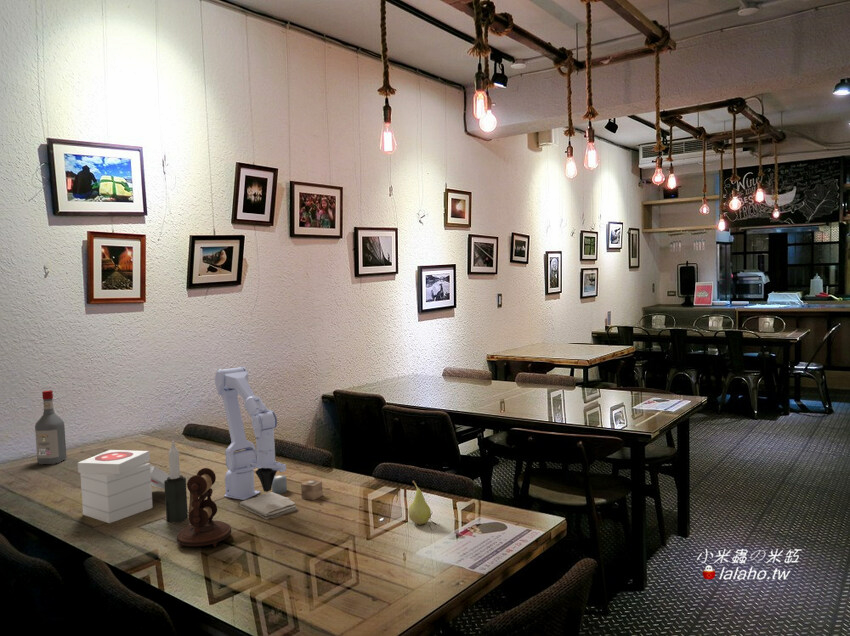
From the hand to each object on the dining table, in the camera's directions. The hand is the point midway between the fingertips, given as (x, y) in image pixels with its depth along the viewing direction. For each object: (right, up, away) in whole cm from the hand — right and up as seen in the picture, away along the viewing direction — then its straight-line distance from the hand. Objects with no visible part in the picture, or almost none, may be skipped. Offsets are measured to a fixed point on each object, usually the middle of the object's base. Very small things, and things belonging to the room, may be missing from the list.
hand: (267, 490), depth 203 cm
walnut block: (+13, -5, +10) cm, 17 cm away
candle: (-26, -7, -8) cm, 28 cm away
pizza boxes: (-46, -7, +6) cm, 47 cm away
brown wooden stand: (-12, -8, -24) cm, 28 cm away
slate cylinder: (0, -5, +16) cm, 17 cm away
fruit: (+49, -6, -16) cm, 52 cm away
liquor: (-106, -5, +61) cm, 122 cm away
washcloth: (0, -6, 0) cm, 7 cm away
